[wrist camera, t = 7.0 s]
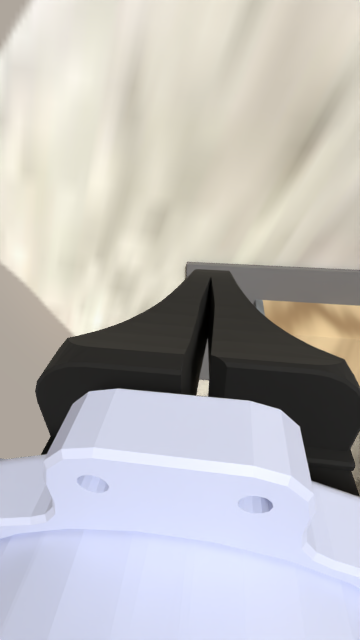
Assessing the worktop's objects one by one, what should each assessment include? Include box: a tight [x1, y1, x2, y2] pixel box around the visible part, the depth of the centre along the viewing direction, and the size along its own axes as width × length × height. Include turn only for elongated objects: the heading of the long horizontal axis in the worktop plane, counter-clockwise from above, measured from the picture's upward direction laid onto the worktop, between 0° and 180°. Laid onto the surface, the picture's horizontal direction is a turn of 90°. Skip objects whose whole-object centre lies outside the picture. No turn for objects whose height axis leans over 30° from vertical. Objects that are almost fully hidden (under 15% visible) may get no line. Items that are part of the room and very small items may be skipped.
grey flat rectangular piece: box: [187, 262, 360, 380], centre depth 25 cm, size 15×11×1 cm
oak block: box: [255, 300, 360, 386], centre depth 23 cm, size 4×6×8 cm
